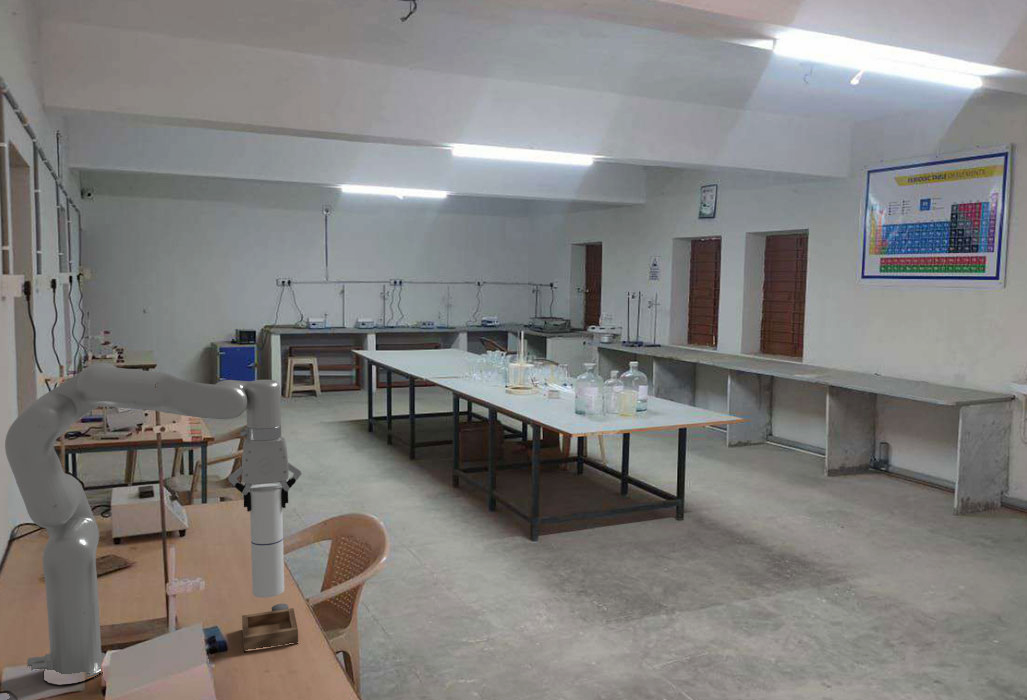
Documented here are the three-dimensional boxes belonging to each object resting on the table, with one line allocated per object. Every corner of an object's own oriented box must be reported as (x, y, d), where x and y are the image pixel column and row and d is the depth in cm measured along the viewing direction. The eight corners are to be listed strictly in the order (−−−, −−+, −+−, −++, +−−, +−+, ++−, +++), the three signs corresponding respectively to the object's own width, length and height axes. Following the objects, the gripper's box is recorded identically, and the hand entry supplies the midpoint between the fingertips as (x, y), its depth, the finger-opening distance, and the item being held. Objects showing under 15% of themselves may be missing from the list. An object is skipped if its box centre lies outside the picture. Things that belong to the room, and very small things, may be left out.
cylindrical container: (251, 599, 176) (248, 493, 173) (253, 586, 183) (250, 484, 180) (283, 595, 178) (281, 491, 175) (284, 583, 184) (282, 482, 182)
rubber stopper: (272, 623, 188) (272, 611, 188) (271, 616, 192) (271, 605, 191) (289, 620, 189) (288, 609, 189) (288, 614, 193) (287, 602, 193)
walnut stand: (243, 652, 173) (243, 637, 173) (242, 629, 185) (242, 615, 184) (298, 643, 178) (297, 629, 177) (293, 621, 189) (293, 608, 189)
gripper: (224, 439, 170) (226, 517, 171) (304, 434, 176) (306, 509, 178) (224, 432, 176) (226, 507, 178) (301, 427, 183) (303, 499, 184)
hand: (266, 507), depth 178 cm, fingers closed on cylindrical container, 7 cm apart
